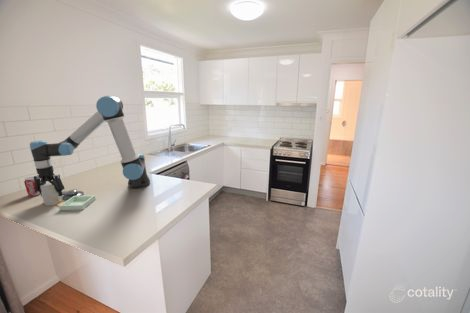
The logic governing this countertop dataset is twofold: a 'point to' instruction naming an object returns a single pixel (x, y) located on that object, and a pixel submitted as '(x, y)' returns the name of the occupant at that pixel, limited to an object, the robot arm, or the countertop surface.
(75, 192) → the crank
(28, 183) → the soda can
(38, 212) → the countertop surface
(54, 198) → the cup
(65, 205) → the tray
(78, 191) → the crank base
